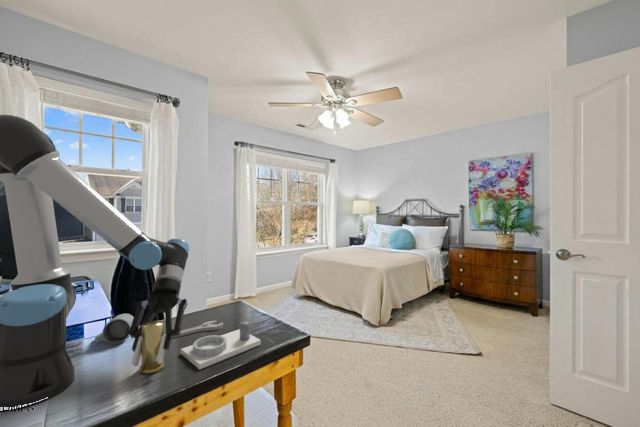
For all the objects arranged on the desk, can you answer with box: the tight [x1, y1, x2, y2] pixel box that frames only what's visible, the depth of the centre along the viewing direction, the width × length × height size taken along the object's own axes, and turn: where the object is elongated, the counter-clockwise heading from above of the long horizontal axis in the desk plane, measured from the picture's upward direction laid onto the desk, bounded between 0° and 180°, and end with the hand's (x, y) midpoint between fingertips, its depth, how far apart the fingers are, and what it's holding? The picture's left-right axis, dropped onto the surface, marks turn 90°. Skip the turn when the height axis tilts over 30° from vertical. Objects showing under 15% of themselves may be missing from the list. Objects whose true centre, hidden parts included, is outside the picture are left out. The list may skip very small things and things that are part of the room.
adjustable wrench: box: [163, 320, 224, 339], centre depth 99 cm, size 25×6×2 cm, turn 125°
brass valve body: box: [138, 319, 165, 375], centre depth 77 cm, size 6×6×12 cm
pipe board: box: [180, 320, 262, 370], centre depth 88 cm, size 20×12×6 cm, turn 138°
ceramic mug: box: [94, 313, 134, 345], centre depth 94 cm, size 11×8×8 cm
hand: (147, 363), depth 73 cm, fingers closed on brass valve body, 5 cm apart
